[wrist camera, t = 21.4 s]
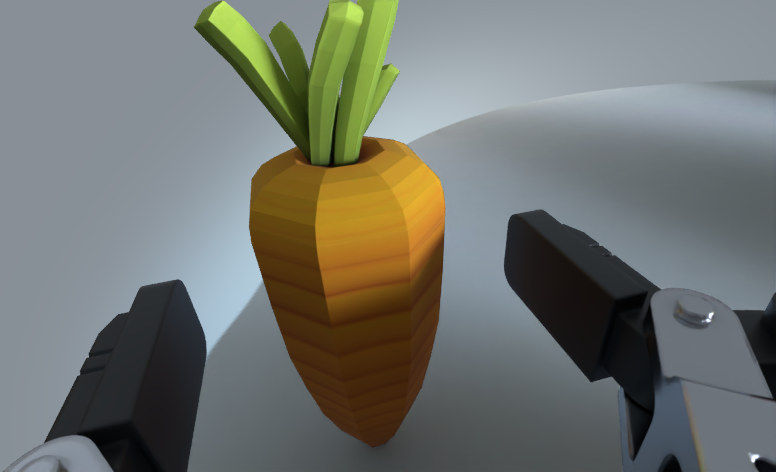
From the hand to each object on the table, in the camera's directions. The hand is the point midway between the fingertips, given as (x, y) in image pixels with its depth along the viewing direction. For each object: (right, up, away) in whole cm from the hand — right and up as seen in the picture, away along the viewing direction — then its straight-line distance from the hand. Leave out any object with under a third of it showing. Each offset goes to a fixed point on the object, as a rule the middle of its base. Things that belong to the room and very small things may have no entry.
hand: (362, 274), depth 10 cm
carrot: (0, -7, +5) cm, 9 cm away
